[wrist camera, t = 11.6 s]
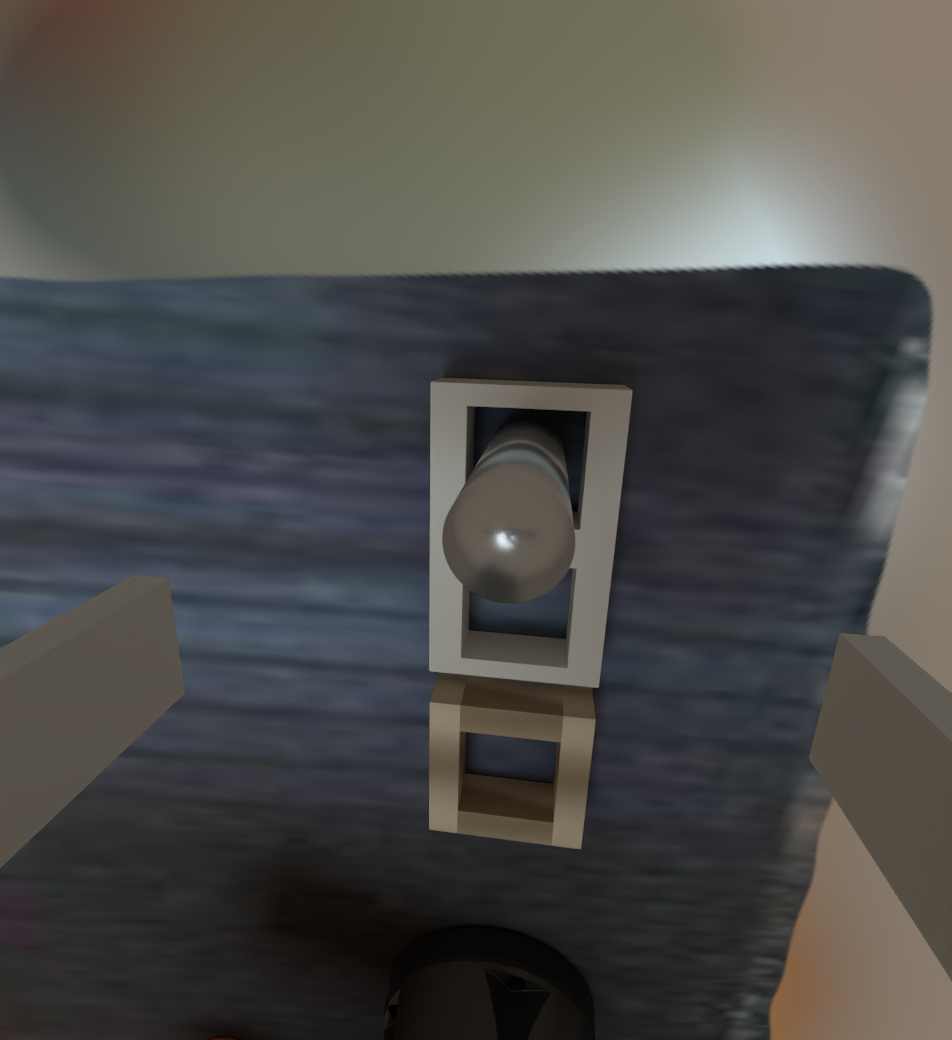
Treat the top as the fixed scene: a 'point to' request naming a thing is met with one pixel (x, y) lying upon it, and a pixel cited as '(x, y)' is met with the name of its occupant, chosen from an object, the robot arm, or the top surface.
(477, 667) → the rack
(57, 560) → the top surface
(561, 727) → the socket block
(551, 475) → the grey peg
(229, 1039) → the paper cup
